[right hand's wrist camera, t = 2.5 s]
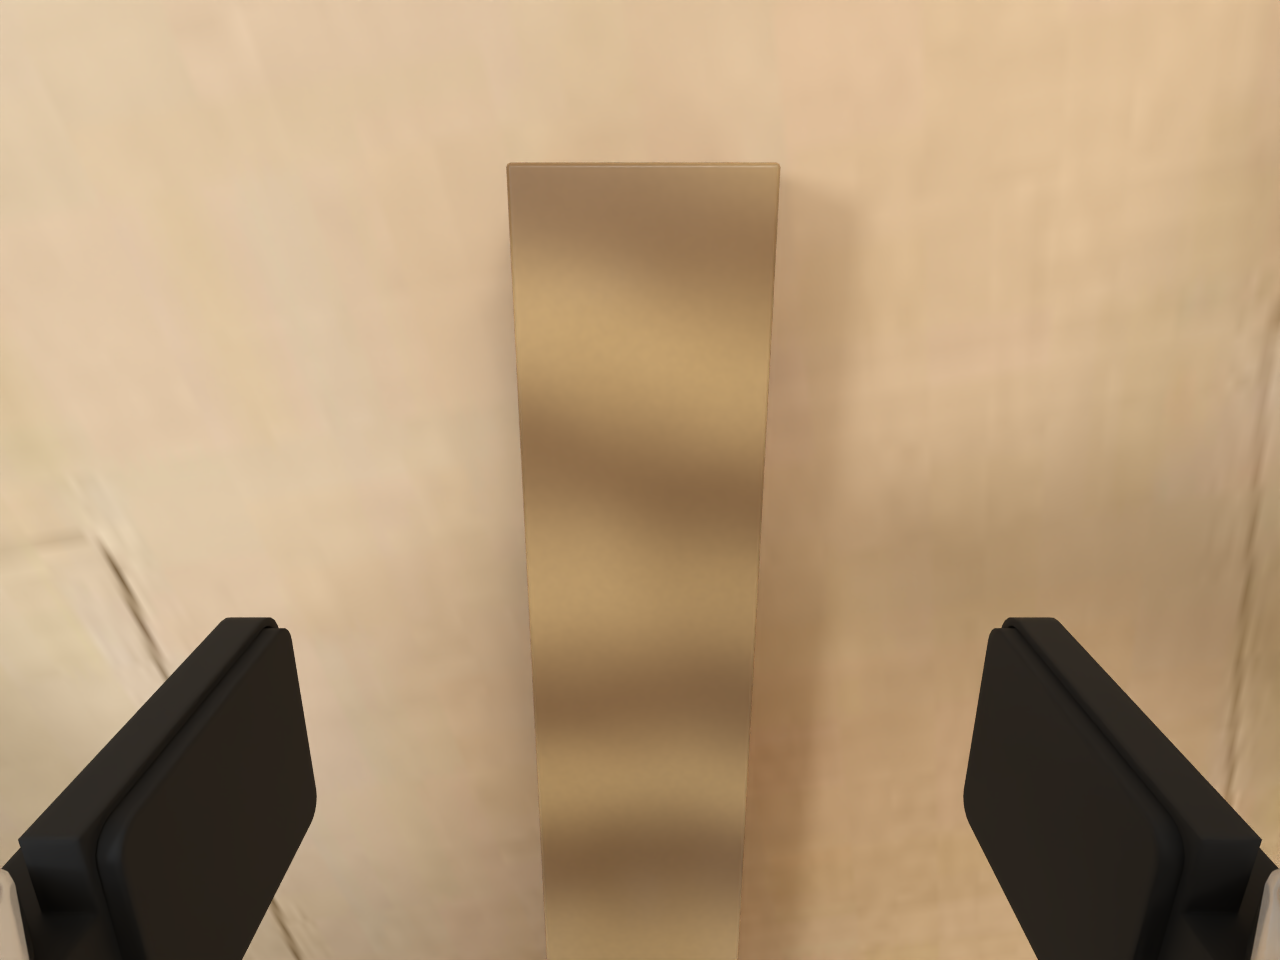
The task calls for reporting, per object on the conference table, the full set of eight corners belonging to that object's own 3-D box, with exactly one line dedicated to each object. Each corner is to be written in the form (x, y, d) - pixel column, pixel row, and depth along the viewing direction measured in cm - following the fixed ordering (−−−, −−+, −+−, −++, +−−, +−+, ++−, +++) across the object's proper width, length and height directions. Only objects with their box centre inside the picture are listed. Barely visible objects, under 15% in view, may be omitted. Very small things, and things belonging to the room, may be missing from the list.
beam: (537, 164, 23) (505, 162, 18) (747, 164, 23) (781, 162, 18) (581, 1287, 41) (572, 1464, 35) (701, 1287, 41) (711, 1464, 35)
